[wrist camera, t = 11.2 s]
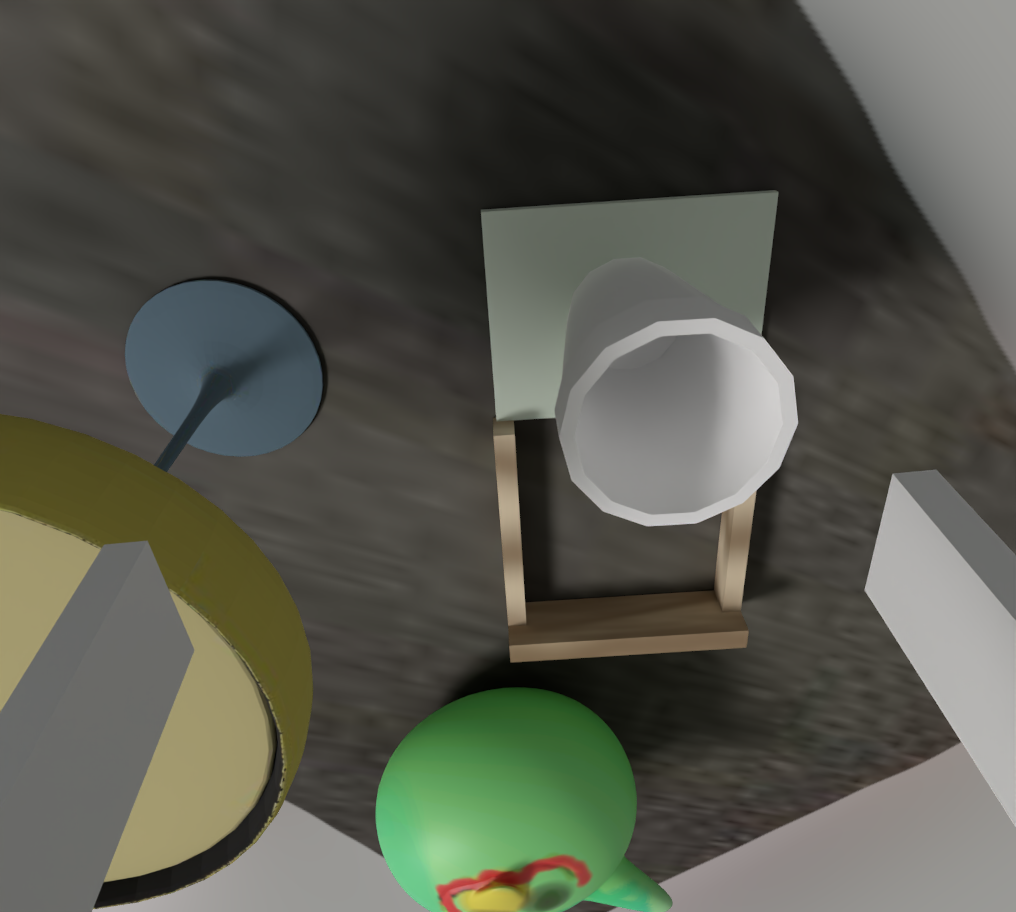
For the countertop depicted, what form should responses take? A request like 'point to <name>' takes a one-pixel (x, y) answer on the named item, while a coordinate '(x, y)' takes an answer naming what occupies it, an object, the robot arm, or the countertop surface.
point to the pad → (593, 242)
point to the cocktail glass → (178, 571)
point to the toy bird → (512, 808)
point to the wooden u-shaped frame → (622, 618)
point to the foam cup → (667, 398)
